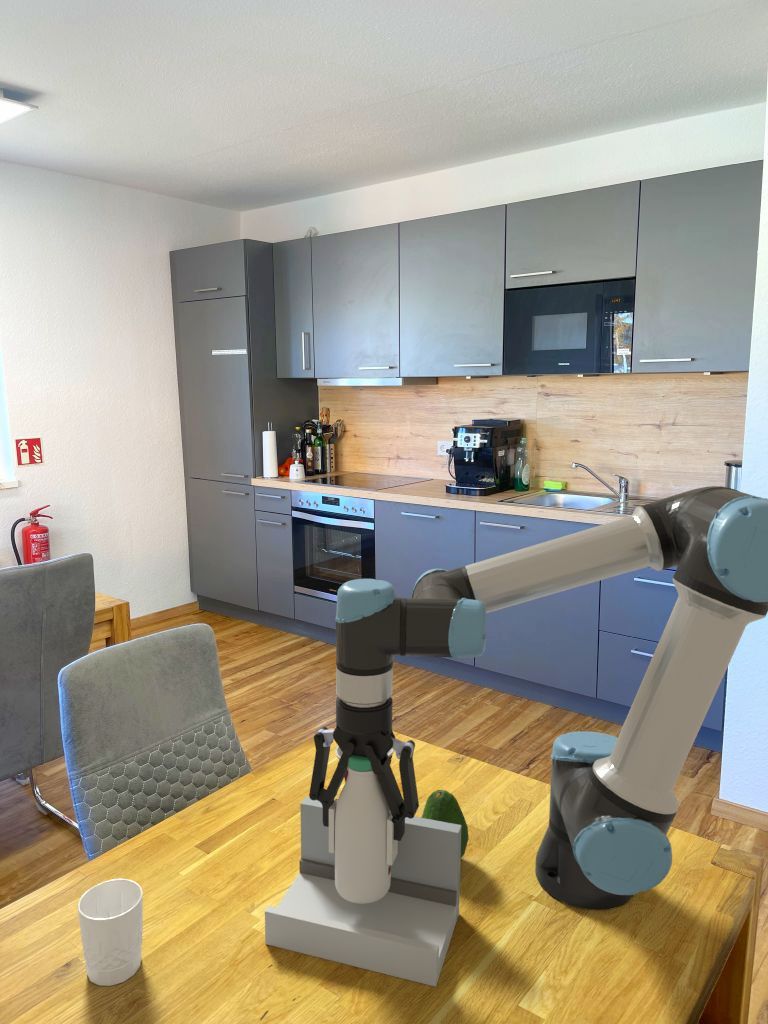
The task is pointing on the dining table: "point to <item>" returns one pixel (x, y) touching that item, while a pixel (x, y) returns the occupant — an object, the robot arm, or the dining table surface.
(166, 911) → the dining table surface
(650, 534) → the robot arm
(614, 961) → the dining table surface
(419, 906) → the board
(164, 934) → the dining table surface
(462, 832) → the avocado
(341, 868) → the milk bottle
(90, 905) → the white cup
